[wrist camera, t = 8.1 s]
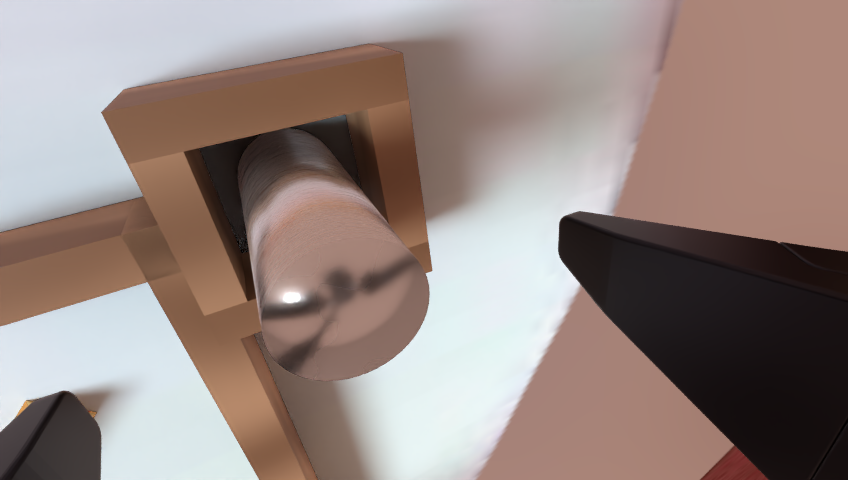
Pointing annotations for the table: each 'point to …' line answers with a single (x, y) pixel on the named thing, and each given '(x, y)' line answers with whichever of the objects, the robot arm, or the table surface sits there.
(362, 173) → the dock
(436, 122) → the table surface
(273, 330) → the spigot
